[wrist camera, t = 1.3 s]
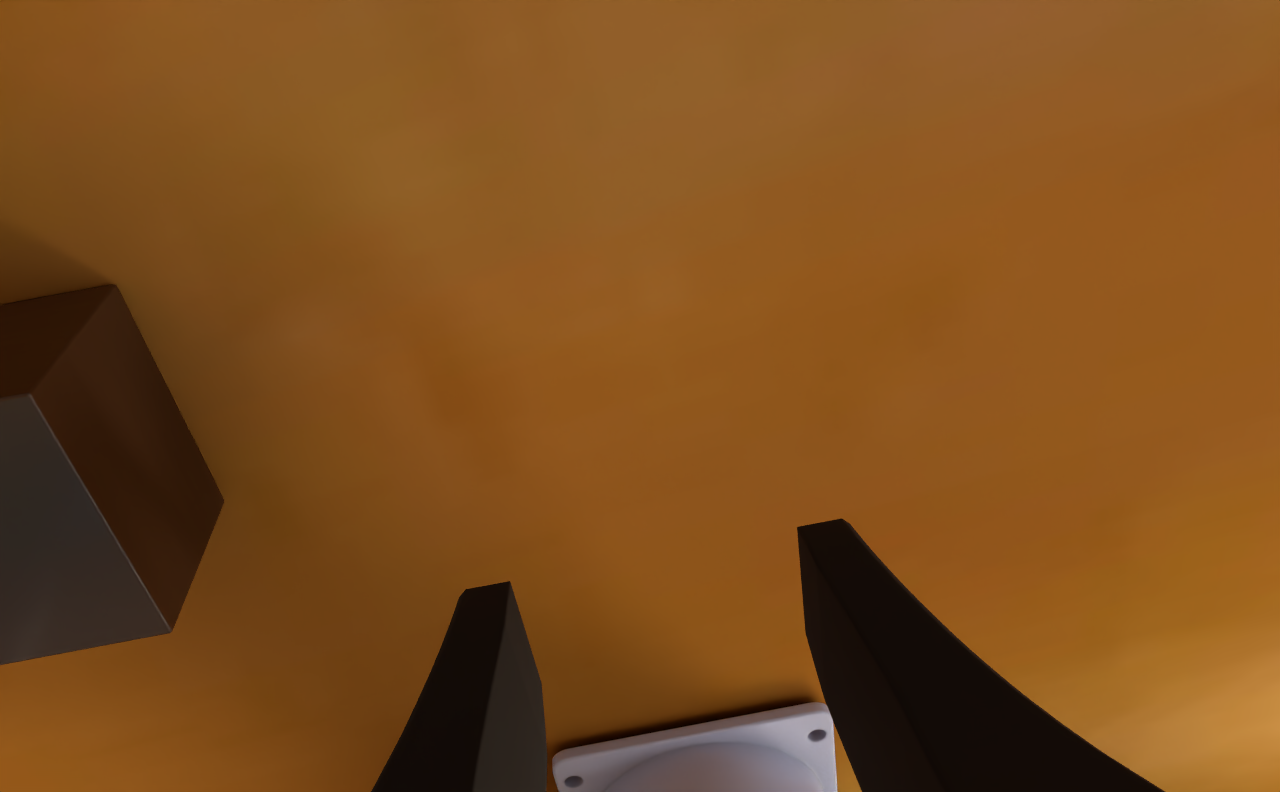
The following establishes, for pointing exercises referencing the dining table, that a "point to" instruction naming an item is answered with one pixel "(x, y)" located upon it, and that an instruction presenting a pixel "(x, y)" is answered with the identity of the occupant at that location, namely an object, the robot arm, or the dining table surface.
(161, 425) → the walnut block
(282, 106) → the dining table surface
